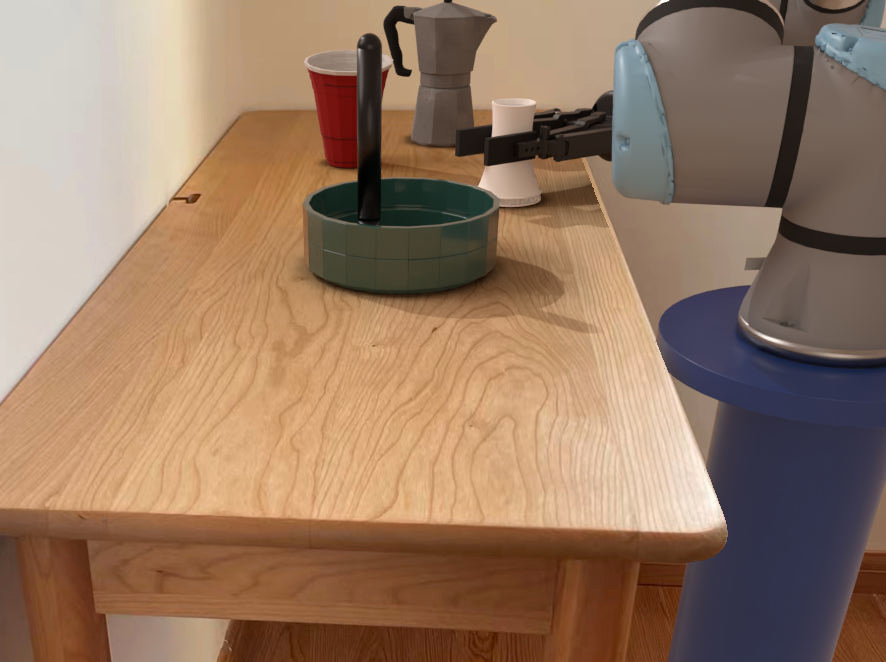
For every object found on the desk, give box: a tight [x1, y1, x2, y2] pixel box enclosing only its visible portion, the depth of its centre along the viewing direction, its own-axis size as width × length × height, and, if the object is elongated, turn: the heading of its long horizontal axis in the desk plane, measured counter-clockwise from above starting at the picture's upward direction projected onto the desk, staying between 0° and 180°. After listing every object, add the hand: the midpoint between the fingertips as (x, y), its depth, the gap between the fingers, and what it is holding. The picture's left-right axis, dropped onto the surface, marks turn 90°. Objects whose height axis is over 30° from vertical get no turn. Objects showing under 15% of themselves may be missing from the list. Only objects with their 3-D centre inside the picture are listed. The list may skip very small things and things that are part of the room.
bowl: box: [302, 176, 500, 295], centre depth 107 cm, size 18×18×6 cm
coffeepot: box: [382, 0, 498, 148], centre depth 149 cm, size 15×9×18 cm, turn 66°
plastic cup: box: [303, 49, 393, 169], centre depth 140 cm, size 11×11×12 cm
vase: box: [477, 97, 543, 208], centre depth 125 cm, size 8×8×10 cm
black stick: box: [356, 32, 383, 226], centre depth 103 cm, size 4×4×19 cm
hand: (472, 147), depth 123 cm, fingers closed on vase, 5 cm apart
